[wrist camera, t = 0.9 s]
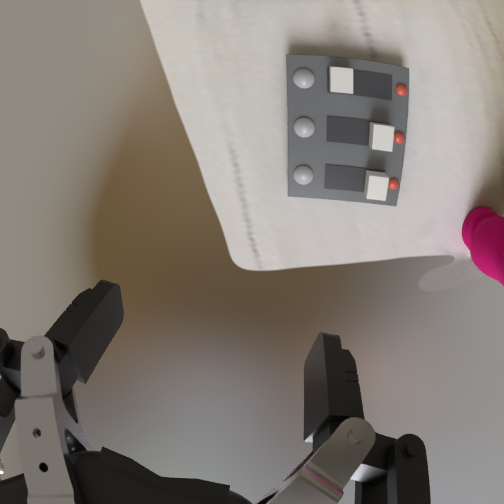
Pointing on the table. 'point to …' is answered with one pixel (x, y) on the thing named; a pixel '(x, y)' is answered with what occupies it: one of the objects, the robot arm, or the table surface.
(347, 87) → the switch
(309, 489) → the robot arm
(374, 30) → the table surface
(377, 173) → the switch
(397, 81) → the switch panel
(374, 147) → the middle switch
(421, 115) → the table surface
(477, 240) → the pepper mill
